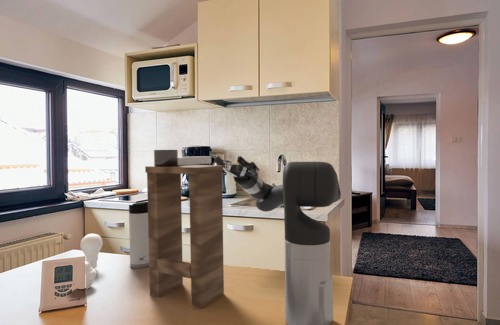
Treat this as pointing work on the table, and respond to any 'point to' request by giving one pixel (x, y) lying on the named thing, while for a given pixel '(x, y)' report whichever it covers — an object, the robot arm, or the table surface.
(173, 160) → the steel link
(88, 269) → the white ridged dome
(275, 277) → the table surface
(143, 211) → the travel mug
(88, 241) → the lightbulb
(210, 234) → the shelf
